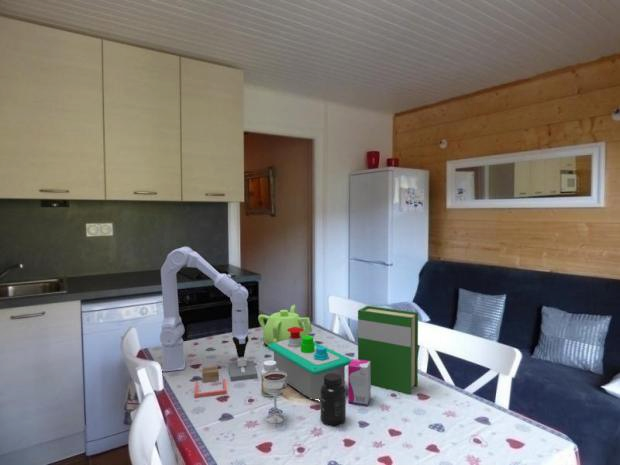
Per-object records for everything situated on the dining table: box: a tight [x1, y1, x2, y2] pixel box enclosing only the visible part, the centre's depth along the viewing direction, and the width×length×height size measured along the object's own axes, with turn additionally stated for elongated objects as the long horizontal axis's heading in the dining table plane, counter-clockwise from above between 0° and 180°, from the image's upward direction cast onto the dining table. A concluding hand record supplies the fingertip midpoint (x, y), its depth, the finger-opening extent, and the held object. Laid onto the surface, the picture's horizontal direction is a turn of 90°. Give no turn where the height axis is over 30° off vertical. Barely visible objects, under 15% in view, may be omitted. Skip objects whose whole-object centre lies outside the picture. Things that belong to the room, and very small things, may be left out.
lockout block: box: [201, 365, 220, 384], centre depth 132 cm, size 5×5×4 cm
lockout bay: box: [194, 378, 228, 399], centre depth 124 cm, size 9×10×1 cm
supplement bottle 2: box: [319, 373, 347, 427], centre depth 105 cm, size 7×7×12 cm
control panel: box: [267, 327, 353, 404], centre depth 128 cm, size 15×16×30 cm
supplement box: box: [347, 358, 372, 407], centre depth 116 cm, size 6×6×12 cm
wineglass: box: [261, 370, 288, 424], centre depth 106 cm, size 7×7×12 cm
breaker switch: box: [236, 356, 248, 367], centre depth 139 cm, size 2×3×2 cm
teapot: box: [257, 304, 313, 346], centre depth 167 cm, size 19×20×14 cm
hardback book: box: [357, 305, 419, 396], centre depth 127 cm, size 18×7×24 cm, turn 58°
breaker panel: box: [228, 360, 259, 382], centre depth 137 cm, size 12×9×2 cm
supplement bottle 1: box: [260, 359, 279, 398], centre depth 121 cm, size 5×5×10 cm
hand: (240, 356), depth 143 cm, fingers closed
